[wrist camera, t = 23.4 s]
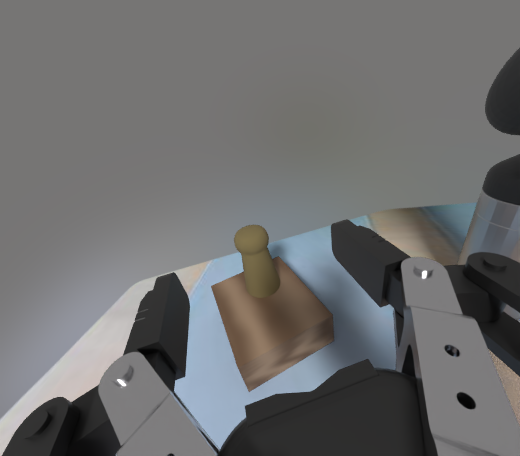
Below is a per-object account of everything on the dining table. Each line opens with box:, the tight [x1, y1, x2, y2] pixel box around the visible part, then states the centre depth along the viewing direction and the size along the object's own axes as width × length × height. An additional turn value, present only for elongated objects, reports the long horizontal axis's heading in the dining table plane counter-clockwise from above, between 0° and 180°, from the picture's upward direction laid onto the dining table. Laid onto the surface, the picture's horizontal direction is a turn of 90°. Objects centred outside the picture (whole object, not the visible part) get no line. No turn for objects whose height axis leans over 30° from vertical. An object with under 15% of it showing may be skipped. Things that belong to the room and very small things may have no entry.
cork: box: [234, 225, 280, 298], centre depth 34 cm, size 6×6×11 cm
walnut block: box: [211, 256, 334, 392], centre depth 36 cm, size 14×16×6 cm
